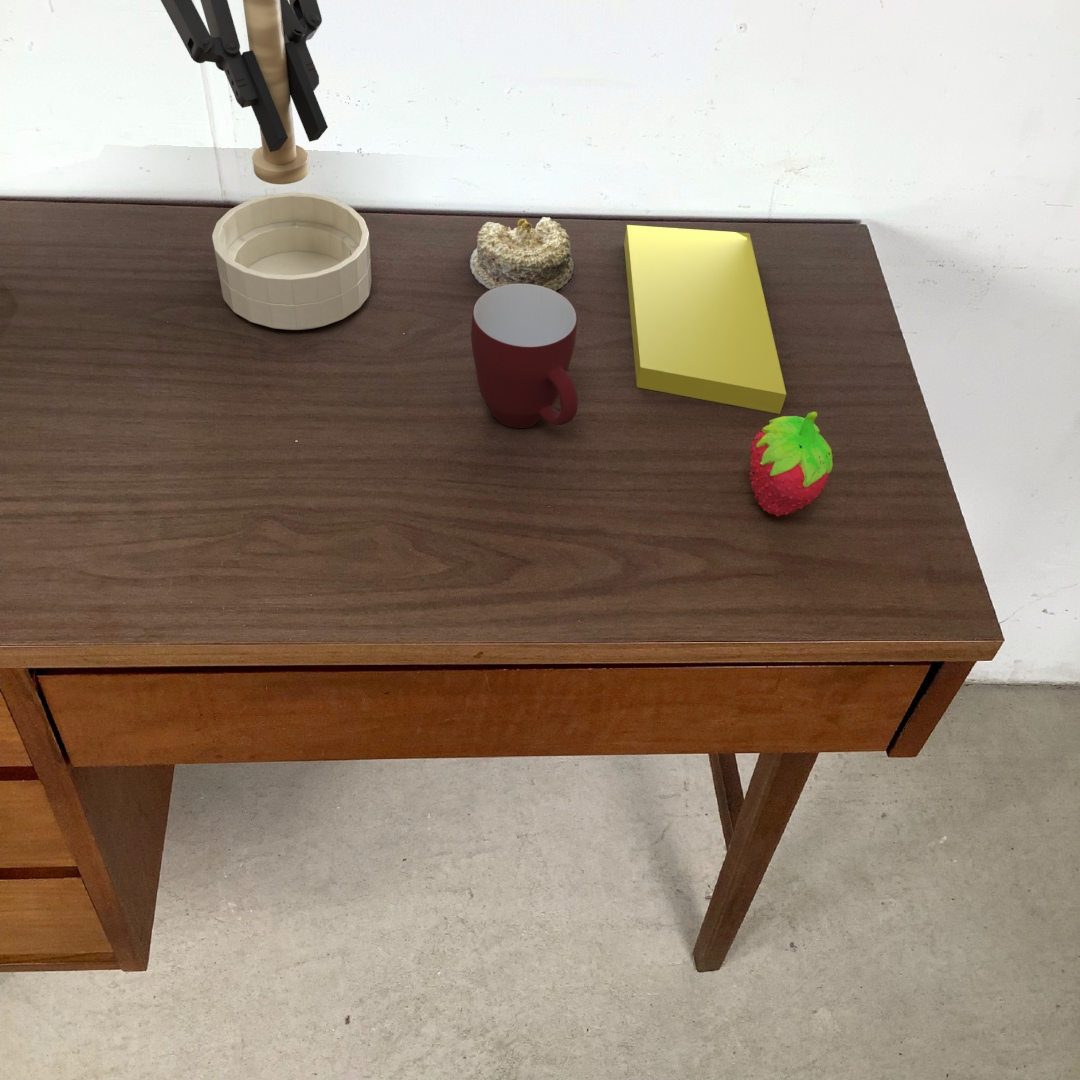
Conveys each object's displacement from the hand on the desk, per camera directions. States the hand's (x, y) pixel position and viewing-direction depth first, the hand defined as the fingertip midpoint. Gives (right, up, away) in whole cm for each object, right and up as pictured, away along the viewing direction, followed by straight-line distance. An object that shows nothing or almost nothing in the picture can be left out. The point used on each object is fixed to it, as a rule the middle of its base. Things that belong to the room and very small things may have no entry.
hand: (298, 139), depth 81 cm
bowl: (-4, -8, +16) cm, 18 cm away
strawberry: (+37, -28, +3) cm, 46 cm away
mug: (+17, -21, +7) cm, 28 cm away
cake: (+17, -4, +22) cm, 27 cm away
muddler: (-3, 0, +5) cm, 6 cm away
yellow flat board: (+33, -10, +18) cm, 39 cm away
